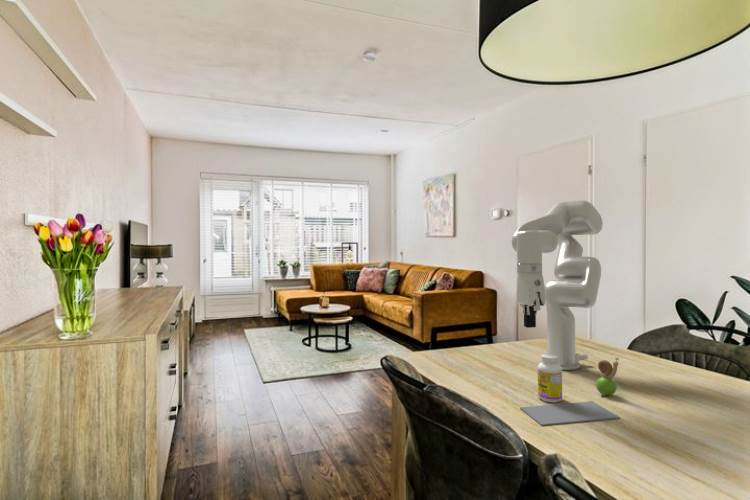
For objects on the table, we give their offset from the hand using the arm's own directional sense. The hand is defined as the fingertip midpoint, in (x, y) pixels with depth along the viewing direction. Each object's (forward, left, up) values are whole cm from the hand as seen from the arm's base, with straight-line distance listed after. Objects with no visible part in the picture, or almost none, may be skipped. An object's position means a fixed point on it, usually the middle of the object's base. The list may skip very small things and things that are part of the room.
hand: (529, 326), depth 134 cm
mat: (+1, +21, -19) cm, 28 cm away
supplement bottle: (0, +10, -20) cm, 22 cm away
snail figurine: (-18, +11, -20) cm, 29 cm away
